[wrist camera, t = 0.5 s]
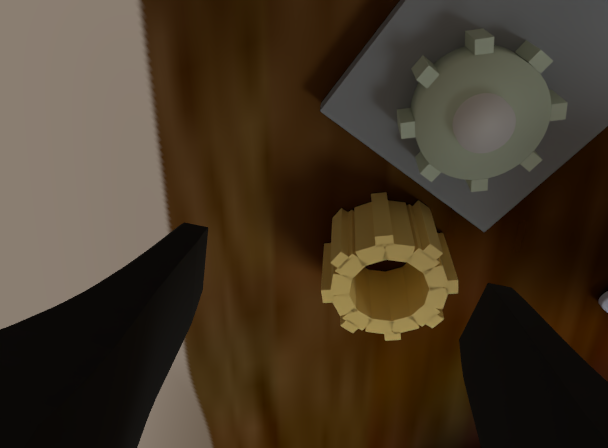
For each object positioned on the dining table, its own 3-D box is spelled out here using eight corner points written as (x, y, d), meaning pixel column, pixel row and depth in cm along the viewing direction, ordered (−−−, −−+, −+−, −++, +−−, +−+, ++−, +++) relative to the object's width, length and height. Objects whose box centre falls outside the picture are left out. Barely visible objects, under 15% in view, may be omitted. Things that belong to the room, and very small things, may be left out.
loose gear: (469, 236, 22) (487, 284, 19) (388, 306, 25) (394, 358, 22) (376, 169, 21) (381, 210, 18) (301, 251, 23) (295, 298, 20)
